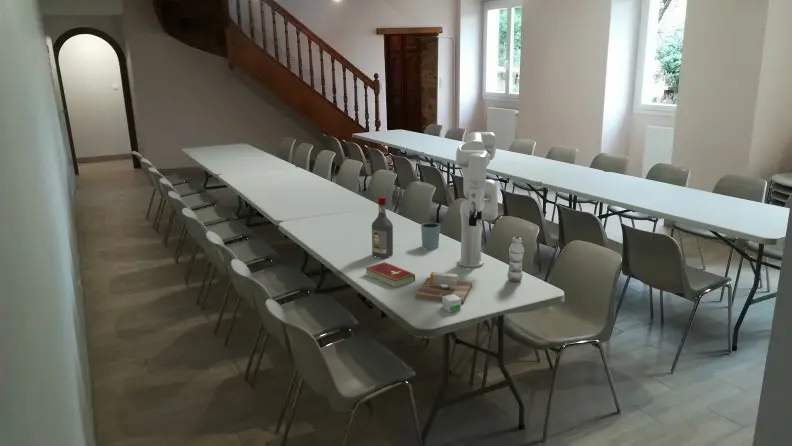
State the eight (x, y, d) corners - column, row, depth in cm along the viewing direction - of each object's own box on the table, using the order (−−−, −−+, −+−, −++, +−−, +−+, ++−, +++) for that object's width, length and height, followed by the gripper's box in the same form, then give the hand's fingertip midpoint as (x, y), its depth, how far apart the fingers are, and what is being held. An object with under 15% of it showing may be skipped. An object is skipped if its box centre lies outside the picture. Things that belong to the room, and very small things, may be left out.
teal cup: (419, 249, 306) (419, 227, 302) (422, 243, 315) (422, 221, 312) (439, 250, 304) (439, 227, 301) (440, 244, 314) (441, 222, 310)
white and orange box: (457, 286, 250) (457, 273, 248) (455, 290, 246) (456, 277, 244) (432, 283, 252) (432, 271, 251) (429, 287, 248) (430, 274, 247)
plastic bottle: (512, 277, 266) (514, 234, 261) (525, 280, 262) (527, 238, 256) (504, 280, 262) (506, 237, 257) (516, 284, 257) (519, 241, 252)
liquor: (380, 251, 302) (380, 194, 294) (395, 254, 297) (394, 197, 289) (369, 256, 295) (368, 198, 287) (384, 259, 290) (383, 200, 282)
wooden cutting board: (427, 281, 261) (427, 276, 261) (472, 286, 256) (472, 281, 255) (415, 298, 243) (415, 293, 243) (463, 303, 237) (463, 299, 237)
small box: (449, 312, 230) (449, 301, 228) (441, 307, 235) (441, 295, 233) (461, 310, 232) (461, 298, 231) (453, 304, 237) (454, 293, 236)
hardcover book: (385, 269, 278) (385, 261, 276) (415, 281, 262) (415, 273, 261) (365, 275, 270) (365, 267, 269) (394, 288, 255) (394, 279, 254)
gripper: (481, 189, 235) (479, 229, 240) (489, 179, 251) (488, 217, 256) (462, 187, 238) (461, 227, 243) (472, 178, 253) (471, 216, 258)
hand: (475, 222), depth 249 cm, fingers open, 9 cm apart
